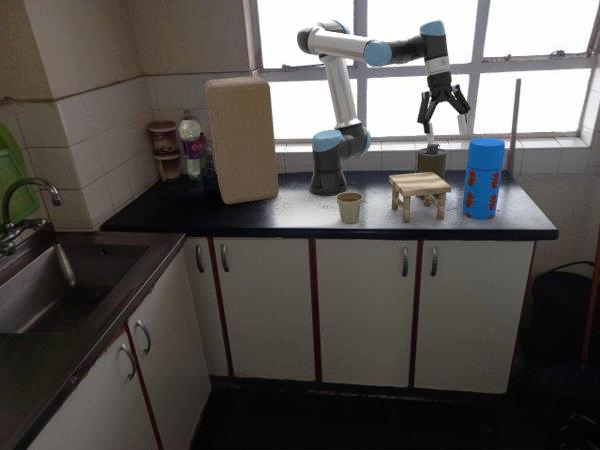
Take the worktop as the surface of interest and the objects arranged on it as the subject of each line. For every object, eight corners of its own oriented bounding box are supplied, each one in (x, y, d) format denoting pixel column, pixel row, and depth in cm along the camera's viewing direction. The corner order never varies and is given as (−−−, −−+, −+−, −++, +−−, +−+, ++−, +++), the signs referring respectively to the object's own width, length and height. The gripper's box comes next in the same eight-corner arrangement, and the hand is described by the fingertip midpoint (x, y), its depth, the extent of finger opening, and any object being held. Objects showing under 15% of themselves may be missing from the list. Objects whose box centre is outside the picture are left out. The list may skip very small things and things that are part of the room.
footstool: (388, 206, 161) (388, 175, 155) (430, 202, 162) (432, 171, 157) (401, 224, 146) (403, 191, 141) (448, 220, 147) (451, 186, 142)
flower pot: (332, 224, 150) (331, 200, 146) (340, 213, 158) (340, 190, 154) (359, 227, 146) (359, 203, 143) (366, 216, 154) (366, 193, 151)
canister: (440, 190, 172) (444, 140, 164) (445, 200, 163) (450, 147, 155) (412, 191, 174) (414, 141, 165) (415, 200, 164) (418, 148, 156)
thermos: (479, 222, 144) (488, 148, 134) (455, 211, 153) (461, 141, 143) (502, 214, 149) (513, 142, 138) (477, 205, 157) (485, 136, 147)
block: (280, 198, 174) (270, 80, 155) (223, 207, 170) (206, 86, 151) (270, 181, 194) (260, 74, 175) (219, 188, 190) (203, 79, 171)
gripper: (413, 77, 133) (424, 146, 138) (476, 64, 142) (484, 129, 146) (399, 81, 140) (410, 147, 145) (460, 68, 148) (468, 131, 153)
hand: (447, 138), depth 146 cm, fingers open, 13 cm apart
